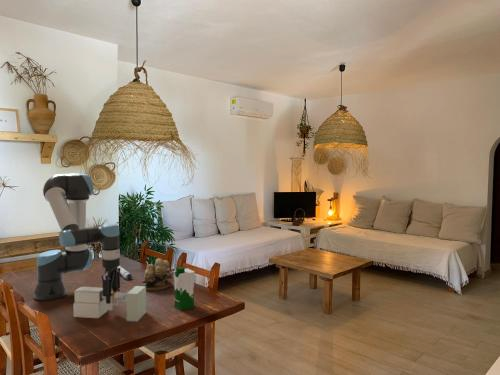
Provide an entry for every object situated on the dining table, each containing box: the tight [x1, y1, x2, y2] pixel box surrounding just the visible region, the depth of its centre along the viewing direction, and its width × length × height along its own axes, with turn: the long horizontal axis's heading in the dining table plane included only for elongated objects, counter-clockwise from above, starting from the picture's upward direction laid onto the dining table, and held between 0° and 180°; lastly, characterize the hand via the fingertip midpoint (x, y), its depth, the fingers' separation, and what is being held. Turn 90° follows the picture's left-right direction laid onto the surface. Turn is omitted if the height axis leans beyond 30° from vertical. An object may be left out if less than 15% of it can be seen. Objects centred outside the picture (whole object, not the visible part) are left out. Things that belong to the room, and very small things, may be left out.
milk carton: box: [172, 266, 196, 311], centre depth 186 cm, size 9×9×20 cm
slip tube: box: [100, 290, 127, 303], centre depth 176 cm, size 19×4×4 cm, turn 83°
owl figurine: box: [141, 258, 174, 293], centre depth 214 cm, size 18×12×17 cm, turn 130°
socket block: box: [125, 285, 147, 322], centre depth 174 cm, size 5×10×13 cm, turn 173°
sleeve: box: [73, 286, 108, 319], centre depth 177 cm, size 12×8×12 cm, turn 83°
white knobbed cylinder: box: [117, 265, 133, 281], centre depth 238 cm, size 5×7×25 cm
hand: (112, 307), depth 176 cm, fingers closed on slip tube, 4 cm apart
